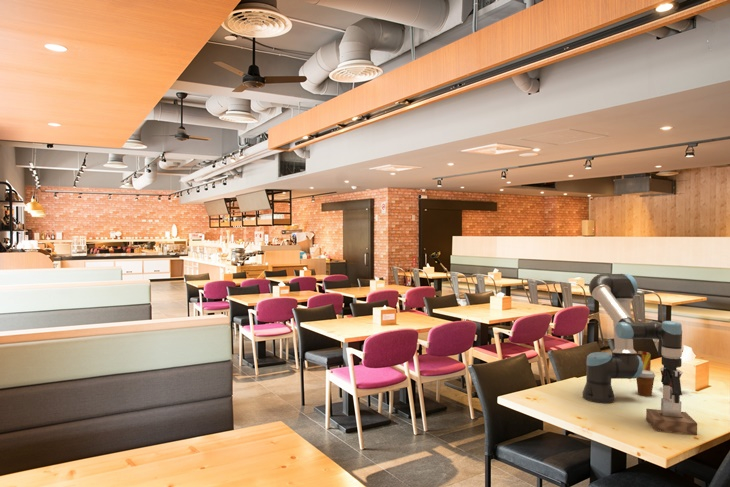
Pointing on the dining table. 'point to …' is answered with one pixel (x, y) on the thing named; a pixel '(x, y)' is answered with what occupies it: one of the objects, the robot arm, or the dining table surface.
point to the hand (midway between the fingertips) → (670, 404)
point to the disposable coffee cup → (645, 383)
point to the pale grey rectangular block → (669, 409)
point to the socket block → (671, 422)
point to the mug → (645, 359)
